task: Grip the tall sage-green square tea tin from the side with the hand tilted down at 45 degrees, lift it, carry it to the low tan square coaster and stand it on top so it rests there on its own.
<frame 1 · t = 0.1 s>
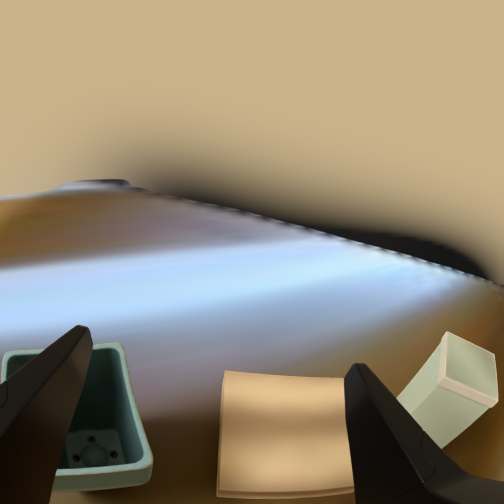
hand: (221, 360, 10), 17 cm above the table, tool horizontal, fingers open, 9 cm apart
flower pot: (97, 458, 18), on the table
tan square coaster: (282, 443, 23), on the table
tea tin: (395, 443, 23), on the table
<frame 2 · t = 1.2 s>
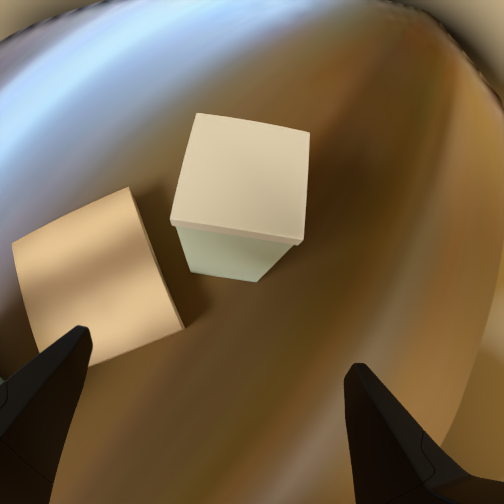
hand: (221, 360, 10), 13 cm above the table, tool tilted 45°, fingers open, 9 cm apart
tan square coaster: (96, 288, 22), on the table
tea tin: (228, 245, 24), on the table
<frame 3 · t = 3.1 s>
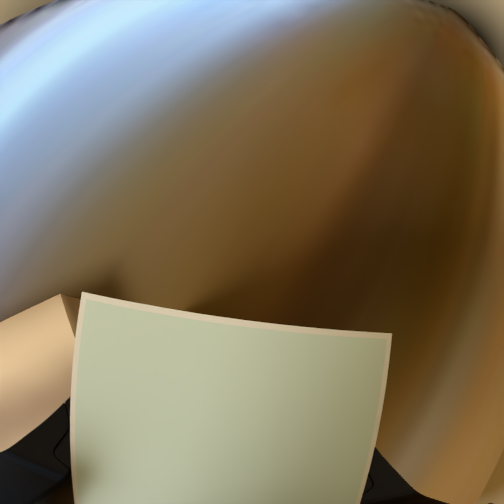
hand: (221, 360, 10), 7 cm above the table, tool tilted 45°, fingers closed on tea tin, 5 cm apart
tan square coaster: (47, 412, 14), on the table
tea tin: (213, 371, 16), on the table, touching gripper
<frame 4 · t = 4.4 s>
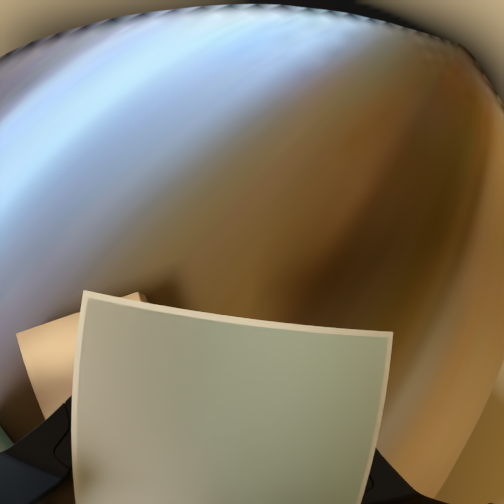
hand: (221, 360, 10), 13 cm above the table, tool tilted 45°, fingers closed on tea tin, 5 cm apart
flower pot: (2, 448, 17), on the table
tan square coaster: (107, 382, 21), on the table
tea tin: (214, 371, 16), point 7 cm above the table, touching gripper
when the fingers open (10 cm above the table, at t = 6.2 s): tea tin stays where it is, point 2 cm above the table.
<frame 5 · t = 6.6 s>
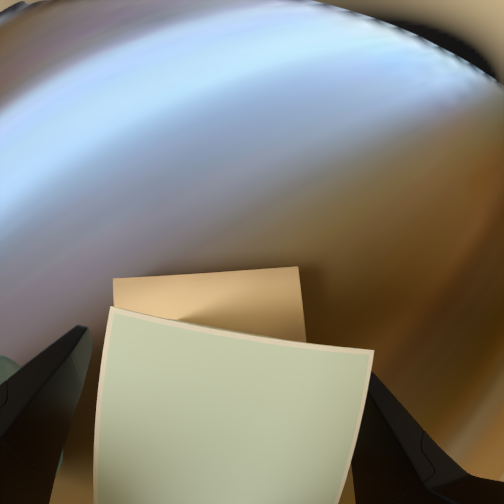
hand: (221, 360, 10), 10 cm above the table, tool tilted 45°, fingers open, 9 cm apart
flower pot: (26, 414, 16), on the table
tan square coaster: (212, 362, 19), on the table
tea tin: (212, 371, 16), point 2 cm above the table
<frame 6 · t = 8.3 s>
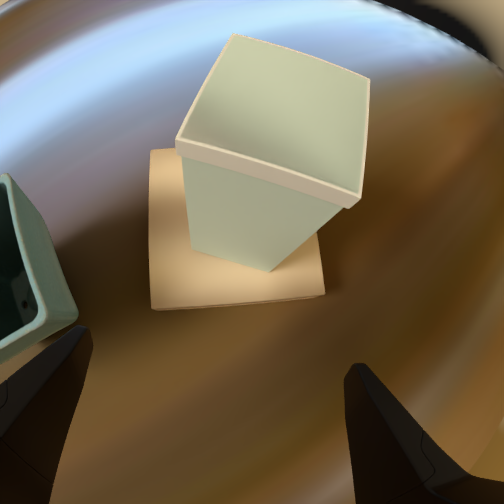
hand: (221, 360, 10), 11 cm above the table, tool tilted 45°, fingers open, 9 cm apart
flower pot: (43, 295, 20), on the table
tan square coaster: (230, 230, 23), on the table, touching tea tin
tea tin: (241, 224, 20), point 3 cm above the table, touching tan square coaster
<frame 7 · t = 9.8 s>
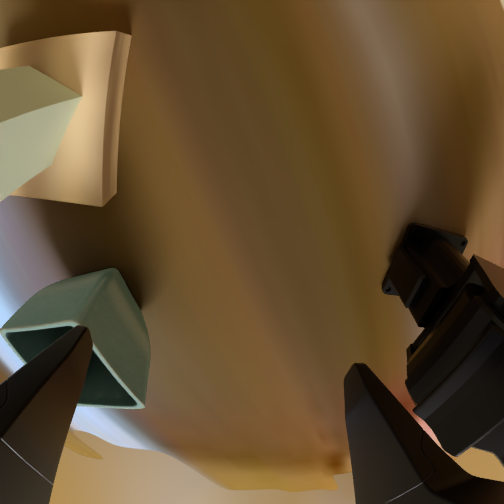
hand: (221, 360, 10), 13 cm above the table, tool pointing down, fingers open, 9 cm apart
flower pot: (107, 292, 25), on the table
tan square coaster: (57, 113, 17), on the table, touching tea tin
tea tin: (38, 114, 15), point 3 cm above the table, touching tan square coaster
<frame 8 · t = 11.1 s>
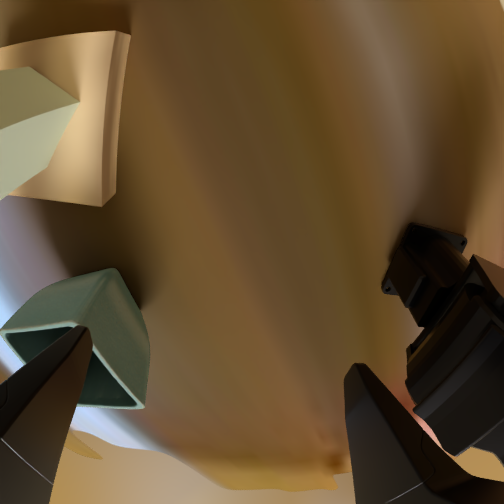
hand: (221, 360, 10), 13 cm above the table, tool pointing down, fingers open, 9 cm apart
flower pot: (106, 292, 25), on the table
tan square coaster: (57, 113, 17), on the table, touching tea tin
tea tin: (36, 116, 15), point 3 cm above the table, touching tan square coaster
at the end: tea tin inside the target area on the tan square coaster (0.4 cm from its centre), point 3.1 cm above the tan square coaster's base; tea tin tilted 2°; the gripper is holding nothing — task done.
